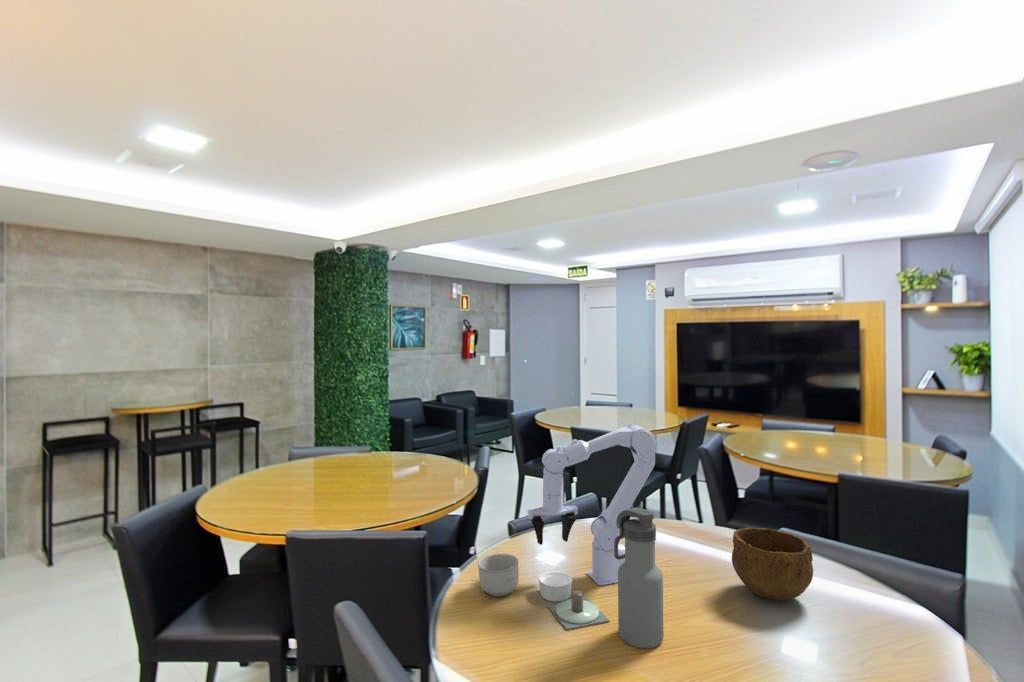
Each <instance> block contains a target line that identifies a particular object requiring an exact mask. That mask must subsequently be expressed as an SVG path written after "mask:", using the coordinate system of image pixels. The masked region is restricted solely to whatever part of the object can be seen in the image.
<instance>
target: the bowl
mask: <svg viewBox="0 0 1024 682" xmlns="http://www.w3.org/2000/svg"><path fill="white" fill-rule="evenodd" d="M732 535H733V536H732V546H733V549H732V553H731V564H732V567H733V569H734V571H735V573H736V575H737V576H738V578H739V579H740V581H741V582H742V583H743V585H744V586H745V587H746V588H747V590H749V591H750V592H752V593H753V594H755V595H757V596H758V597H759V596H760V598H767V599H769V600H777V601H778V600H779V601H783V600H790V599H795V598H797V597H799V596H801V595H802V594H803V593H804V592H805V591H806V590H807V588H808V587H809V586H810V584H811V583H812V581H813V577H814V566H813V552H812V545H811V544H810V542H808V541H807V540H806V539H805V538H803V537H802V536H799V535H796V534H793V533H792V532H790V533H789V532H787V531H783V530H774V529H772V528H767V527H763V528H761V527H744V528H743V527H742V528H738V529H736V530H735V531H733V534H732Z"/></svg>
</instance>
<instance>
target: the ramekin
mask: <svg viewBox="0 0 1024 682" xmlns="http://www.w3.org/2000/svg"><path fill="white" fill-rule="evenodd" d="M538 582H539V591H540V596H541V597H542V598H543V599H544V600H547V601H548V602H549V601H550V602H559V603H560V602H563V601H565V600H569V598H571V593H572V584H573V577H572V576H571V575H569V573H566V572H563V571H558V570H557V571H555V570H554V571H547V572H544V573H541V574H540V575H539V576H538Z"/></svg>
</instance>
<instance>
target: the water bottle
mask: <svg viewBox="0 0 1024 682" xmlns="http://www.w3.org/2000/svg"><path fill="white" fill-rule="evenodd" d="M631 517H633V518H631ZM654 519H655V513H654V512H653V511H652V510H648V509H645V508H641V507H631V508H630V509H627V510H624V511H622V512H621V513H619V515H618V517H617V522H616V525H617V528H620V536H617V537H616V538H615V541H614V556H615V558H616V559H618V560H620V559H623V558H625V562H624V563H622V564H621V565H620V567H619V569H618V582H617V603H618V604H617V605H618V607H617V610H618V616H617V617H618V620H617V621H618V622H617V623H618V634H619V637H620V638H621V640H622V641H623V642H625V643H627V644H628V645H630V646H633V647H635V648H639V649H641V648H642V649H650V648H655V647H658V646H659V645H661V644H662V642H663V641H664V636H665V635H664V632H665V631H664V630H665V629H664V577H663V571H662V570H661V569H660V567H658V565H657V564H656V540H657V526H656V524H655V523H653V521H654ZM622 539H624V547H625V554H623V555H620V556H619V555H618V542H619V540H620V541H621V540H622ZM619 543H620V542H619Z"/></svg>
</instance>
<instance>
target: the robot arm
mask: <svg viewBox="0 0 1024 682" xmlns="http://www.w3.org/2000/svg"><path fill="white" fill-rule="evenodd" d="M657 445H658V444H657V442H656V439H655V436H654V434H653V433H652V432H651V431H650V430H649V429H646V428H643V427H642V426H640V425H638V424H634V423H633V424H630V425H628V426H621V427H620V428H617V429H614V430H613V431H610V432H608V433H605V434H603V435H601V436H598V437H596V438H594V439H590V440H588V441H584V440H582V439H580V440H578V439H576V438H575V439H572V441H571V442H570V443H568V444H565V445H562V446H560V445H557V446H556V447H555V448H556V449H555V448H549V449H547V450H546V451H545V452H544V453H543V454H542V458H541V463H542V465H543V476H542V506H541V507H536V508H532V509H527V518H528V519H529V520H530V521H531V524H532V526H533V529H534V532H535V535H536V540H537V544H539V545H540V546H541V545H543V544H544V543H543V542H544V538H543V535H544V526H545V522H544V520H543V518H546V517H555V516H560V517H561V537H562V540H563V542H568V540H569V536H570V533H571V530H572V527H573V525H574V524H575V522H576V520H577V517H576V515H578V509H579V508H578V507H577V506H576V505H564V476H563V475H564V470H565V468H566V467H567V468H568V467H571V466H573V465H577V464H578V463H581V462H584V461H586V460H588V459H589V458H590V456H591V454H592V453H596V452H598V451H602V450H605V449H608V448H612V447H615V446H622V447H626V448H629V449H630V450H631V454H632V457H633V460H634V461H633V463H632V465H631V466H630V468H629V470H628V471H627V474H626V476H625V477H624V479H623V481H622V483H620V486H619V487H618V490H617V491H616V492H615V494H614V496H613V499H612V500H611V501H610V503H609V505H608V506H607V508H605V509H604V510H603V511H601V512H600V514H599V516H598V517H596V518H594V519H593V520H592V522H591V524H590V531H591V534H592V535H593V537H594V538H593V540H592V542H591V546H592V547H591V550H592V554H591V555H592V562H591V563H592V568H591V569H592V570H589V571H586V574H587V575H588V577H590V578H591V579H592V580H593V581H594V582H595V583H597V584H598V586H605V585H610V584H615V583H617V584H618V569H619V567H620V565H621V564H622V563H624V562H625V558H623V559H620V560H618V559H616V558H615V556H614V541H615V538H616V537H617V536H620V528H617V525H616V522H617V517H618V515H619V513H621V512H622V511H624V510H627V509H631V508H632V506H633V504H634V502H635V501H636V499H637V497H638V495H639V494H640V493H641V490H642V488H643V487H644V485H645V483H646V482H647V480H648V478H649V476H650V474H651V472H652V471H653V470H654V467H655V465H656V447H657ZM620 542H621V539H620V540H619V542H618V555H619V556H620V555H623V554H625V544H622V543H620Z"/></svg>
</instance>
